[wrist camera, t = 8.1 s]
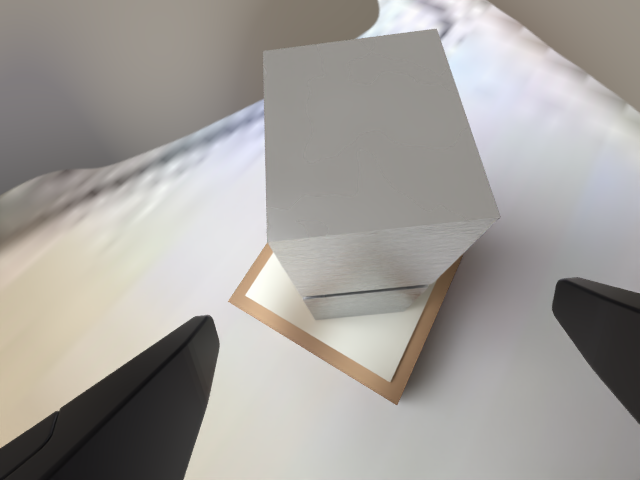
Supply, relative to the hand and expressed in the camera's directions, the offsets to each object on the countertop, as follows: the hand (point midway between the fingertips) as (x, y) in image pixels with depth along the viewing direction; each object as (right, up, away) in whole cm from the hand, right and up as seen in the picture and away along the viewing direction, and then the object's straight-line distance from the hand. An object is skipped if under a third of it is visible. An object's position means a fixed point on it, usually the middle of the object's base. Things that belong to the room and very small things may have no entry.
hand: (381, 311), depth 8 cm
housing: (0, 0, +11) cm, 11 cm away
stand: (+1, -1, +14) cm, 14 cm away
